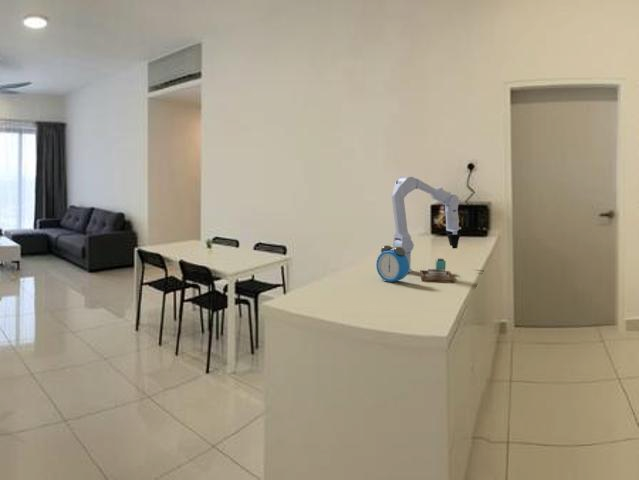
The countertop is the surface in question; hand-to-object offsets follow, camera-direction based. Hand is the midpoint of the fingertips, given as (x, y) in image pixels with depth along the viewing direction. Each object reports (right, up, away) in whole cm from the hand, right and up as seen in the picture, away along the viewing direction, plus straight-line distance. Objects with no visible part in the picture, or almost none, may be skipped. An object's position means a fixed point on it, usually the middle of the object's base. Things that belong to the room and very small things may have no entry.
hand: (453, 246), depth 220 cm
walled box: (-15, -14, -23) cm, 31 cm away
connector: (-10, -12, -12) cm, 20 cm away
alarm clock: (-34, -14, -28) cm, 47 cm away
